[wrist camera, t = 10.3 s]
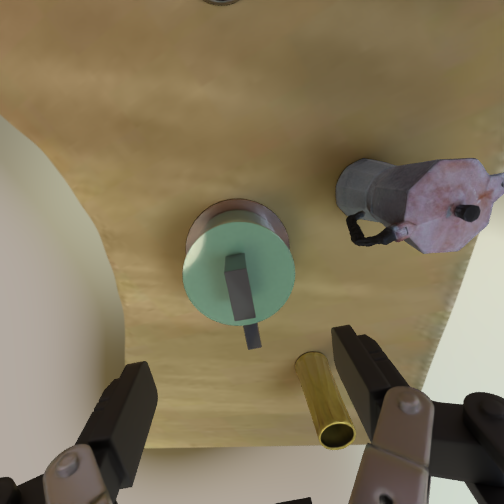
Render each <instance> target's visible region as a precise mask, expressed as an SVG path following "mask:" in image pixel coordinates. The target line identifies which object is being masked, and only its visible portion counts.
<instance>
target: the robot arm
mask: <svg viewBox="0 0 504 504" xmlns="http://www.w3.org/2000/svg"><path fill="white" fill-rule="evenodd" d="M204 1H206V2H208V3H210V4H213V5H221V6H223V5H230V4H233V3H235V2H237V1H239V0H204ZM331 333H332V344H333V354H334V361H335V365H336V369H337V371H338V374H339V376H340V378H341V380H342V382H343V384H344V386H345V388H346V391H347V393H348V395H349V397H350V399H351V401H352V403H353V405H354V407H355V409H356V412H357V414H358V416H359V418H360V420H361V422H362V424H363V426H364V428H365V431H366V433H367V435H368V437H369V439H370V441H371V444H370V443H367V445H366V447H365V450H364V453H363V456H362V460H361V463H360V467H359V470H358V473H357V476H356V480H355V483H354V487H353V490H352V494H351V497H350V500H349V503H348V504H429V494H430V483H431V476H434V477H440V478H446V479H452V480H458V481H464V482H465V483H466V485H467V487H468V488H469V490H470V491H471V493H472V494H473V496H474V498H475V499H476V500H477V502H478V504H504V398H502V397H499V396H497V395H494V394H490V393H485V392H475V393H471V394H469V395H467V396H466V397H465V399H464V404H463V405H461V404H450V403H441V402H435V401H432V400H430V398H429V397H428V396H427V395H426V394H424V393H423V392H421V391H420V390H417V389H415V388H412V387H410V386H409V385H408V383H407V382H406V381H405V379H404V378H403V377H402V375H401V374H400V373H399V371H398V370H397V369H396V368H395V366H394V365H393V364H392V362H391V361H390V360H389V359H388V357H387V356H386V354H385V353H384V352H383V351H382V349H381V348H380V346H379V345H378V344H377V342H376V341H375V340H373V339H372V338H370V337H368V336H367V335H365V334H364V335H359V336H357V335H356V333H355V332H354V330H353V329H352V327H351V326H350V325H344V326H339V327H333V328H332V329H331ZM157 401H158V394H157V389H156V386H155V383H154V380H153V377H152V374H151V371H150V368H149V366H148V363H147V362H146V361H143V362H137V363H132V364H127V365H126V366H125V368H124V370H123V372H122V374H121V376H120V378H118V379H114V380H113V381H112V383H111V384H110V385H109V386H108V387H107V388H106V389H105V390H104V392H103V394H102V396H101V397H100V399H99V403H97V405H96V407H95V408H94V412H92V414H91V416H90V418H89V419H88V421H87V423H86V425H85V427H84V429H83V431H82V432H81V435H80V436H79V438H78V440H77V442H76V443H75V445H74V446H72V447H70V448H68V449H66V450H64V451H63V452H62V453H60V454H59V455H58V456H57V457H56V458H55V459H54V460H53V461H52V462H51V463H50V465H49V466H48V467H47V469H46V471H45V473H44V474H42V475H40V476H38V477H36V478H34V479H31V480H29V481H27V482H25V483H23V484H21V485H18V486H16V484H15V482H14V481H13V479H11V478H9V477H3V478H0V504H118V503H117V501H116V498H117V495H118V492H119V489H123V488H128V487H132V485H133V482H134V479H135V475H136V472H137V469H138V466H139V462H140V459H141V455H142V452H143V449H144V446H145V442H146V439H147V436H148V433H149V429H150V426H151V423H152V419H153V416H154V413H155V409H156V406H157ZM276 504H312V501H311V498H310V497H308V498H303V499H297V500H292V501H286V502H281V503H276Z"/></svg>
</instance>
